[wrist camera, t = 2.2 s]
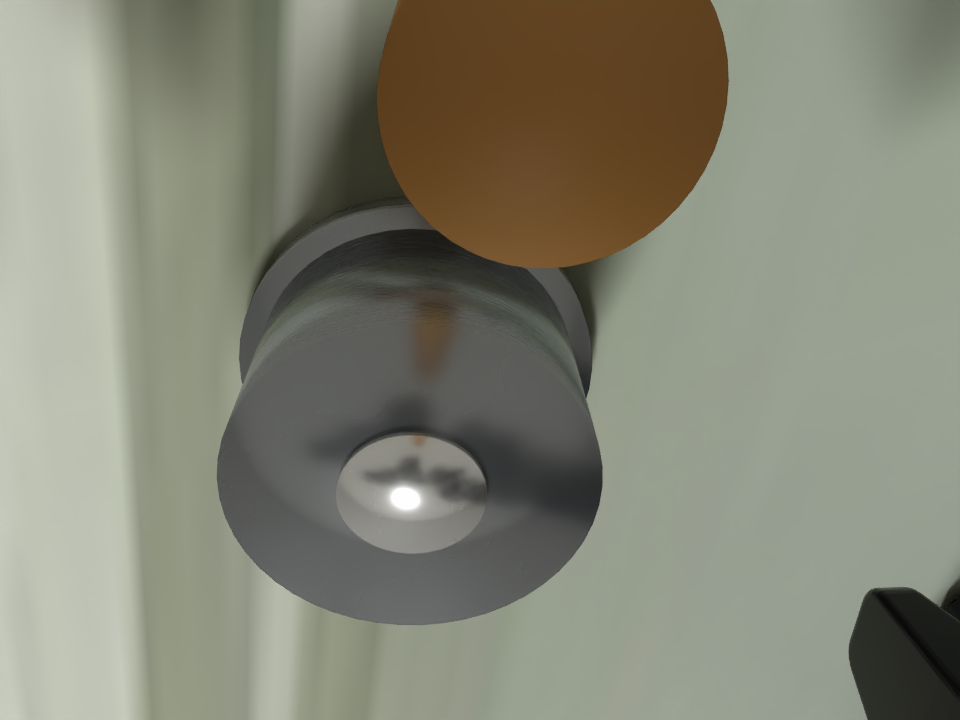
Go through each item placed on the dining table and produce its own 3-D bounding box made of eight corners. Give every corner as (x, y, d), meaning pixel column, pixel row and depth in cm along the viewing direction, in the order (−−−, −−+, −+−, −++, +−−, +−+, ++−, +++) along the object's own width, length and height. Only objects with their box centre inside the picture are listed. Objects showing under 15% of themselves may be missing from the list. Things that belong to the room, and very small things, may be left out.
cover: (597, 191, 11) (648, 297, 9) (578, 484, 14) (612, 639, 11) (219, 198, 11) (144, 310, 8) (271, 493, 14) (228, 653, 11)
